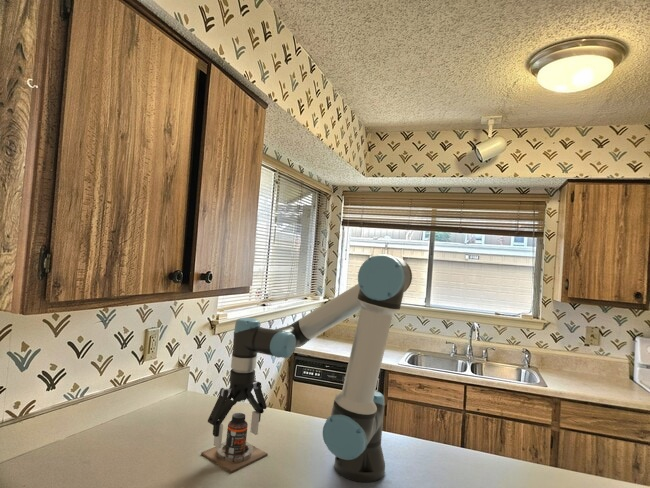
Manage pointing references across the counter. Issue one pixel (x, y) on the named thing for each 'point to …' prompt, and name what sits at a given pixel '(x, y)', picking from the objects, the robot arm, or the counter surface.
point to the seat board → (233, 466)
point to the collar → (234, 458)
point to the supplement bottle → (236, 435)
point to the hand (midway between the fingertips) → (236, 439)
